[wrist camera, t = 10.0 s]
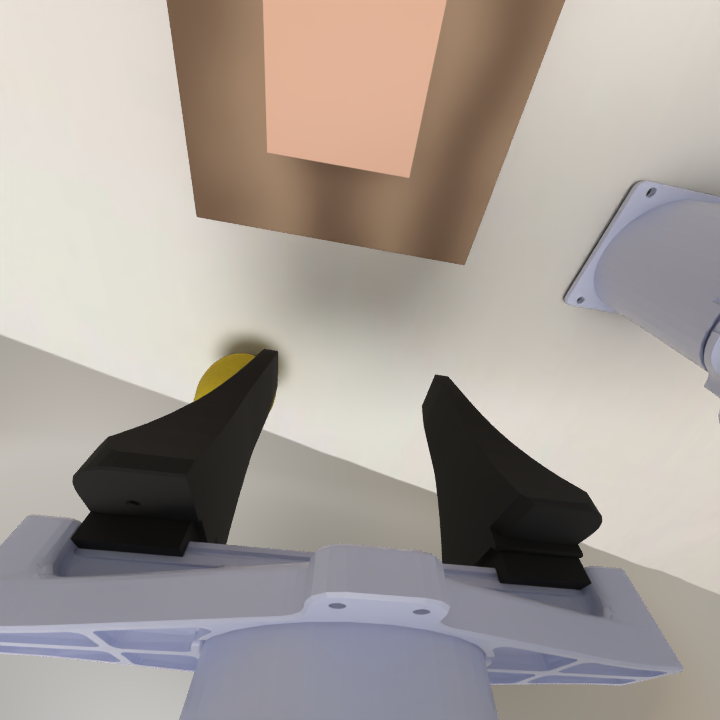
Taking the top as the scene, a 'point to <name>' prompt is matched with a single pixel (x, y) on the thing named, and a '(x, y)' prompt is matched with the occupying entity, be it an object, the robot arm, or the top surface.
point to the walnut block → (345, 184)
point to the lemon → (222, 373)
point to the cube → (349, 79)
